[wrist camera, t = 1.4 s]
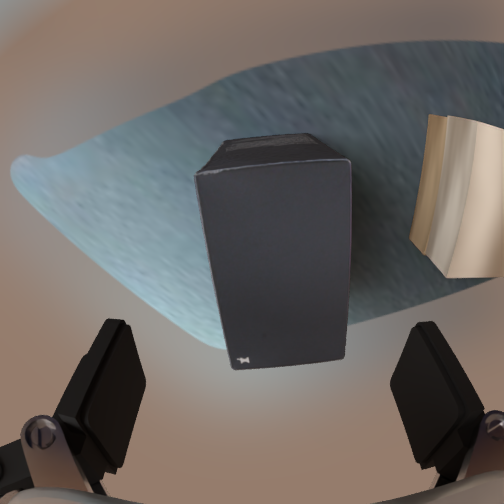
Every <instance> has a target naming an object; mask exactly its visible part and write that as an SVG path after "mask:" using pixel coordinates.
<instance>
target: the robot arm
mask: <svg viewBox="0 0 504 504" xmlns="http://www.w3.org/2000/svg"><path fill="white" fill-rule="evenodd" d="M145 387H146V379H145V375H144V372H143V369H142V365H141V362H140V359H139V355H138V352H137V348H136V345H135V341H134V338H133V334H132V330H131V327H130V326H129V325H126V323H125V321H124V320H120V319H106V321H105V322H104V324H103V326H102V328H101V329H100V331H99V333H98V335H97V337H96V338H95V340H94V342H93V344H92V346H91V348H90V350H89V351H88V353H87V354H86V355H84V356H83V358H82V359H81V361H80V363H79V364H78V366H77V369H76V370H75V372H74V374H73V376H72V378H71V380H70V382H69V384H68V386H67V388H66V390H65V392H64V394H63V396H62V398H61V400H60V402H59V404H58V406H57V408H56V410H55V413H54V415H53V417H50V416H48V415H38V416H35V417H33V418H31V419H29V420H28V421H27V422H26V423H25V424H24V426H23V428H22V430H21V434H20V436H21V439H19V440H16V441H14V442H11V443H9V444H7V445H4V446H2V447H0V504H142V503H137V502H131V501H127V500H122V499H118V498H113V497H111V496H110V495H109V493H108V491H107V489H106V487H105V485H104V483H103V482H102V479H103V476H104V473H105V472H107V473H112V474H116V472H117V468H121V467H122V466H123V463H124V460H125V456H126V452H127V448H128V445H129V441H130V438H131V434H132V431H133V428H134V424H135V420H136V417H137V414H138V411H139V407H140V404H141V400H142V397H143V394H144V391H145ZM390 387H391V390H392V393H393V396H394V399H395V401H396V404H397V407H398V410H399V413H400V416H401V418H402V421H403V424H404V427H405V430H406V433H407V436H408V439H409V442H410V445H411V448H412V452H413V455H414V458H415V460H416V462H417V463H420V466H421V469H422V470H423V469H427V468H431V467H434V466H435V467H436V470H437V473H436V475H435V477H434V479H433V482H432V484H431V486H430V488H429V490H426V491H423V492H419V493H415V494H412V495H408V496H404V497H400V498H396V499H392V500H387V501H382V502H377V503H372V504H504V412H502V411H498V410H492V411H489V412H487V413H486V414H485V413H484V411H483V410H484V406H483V404H482V402H481V400H480V399H479V397H478V395H477V393H476V391H475V389H474V387H473V386H472V384H471V382H470V380H469V378H468V377H467V375H466V373H465V371H464V370H463V368H462V366H461V364H460V363H459V361H458V359H457V358H456V356H455V354H454V353H453V351H452V349H451V348H450V346H449V344H448V343H447V341H446V340H445V338H444V336H443V335H442V333H441V332H440V330H439V329H438V327H437V325H436V324H435V323H434V322H433V321H428V322H418V323H417V324H416V326H415V327H413V328H412V329H411V331H410V334H409V337H408V339H407V342H406V344H405V347H404V349H403V352H402V354H401V357H400V359H399V362H398V364H397V366H396V368H395V371H394V373H393V375H392V377H391V381H390Z"/></svg>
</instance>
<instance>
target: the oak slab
mask: <svg viewBox="0 0 504 504" xmlns="http://www.w3.org/2000/svg"><path fill="white" fill-rule="evenodd" d="M447 119H448V118H447V117H442V116H437V115H431V114H429V119H428V129H427V137H426V146H425V153H424V160H423V167H422V173H421V179H420V185H419V191H418V196H417V202H416V207H415V212H414V217H413V221H412V226H411V231H410V235H409V239H410V240H411V241H412V242H413V243H414V245H415V246H416V247H417V248H418V249H419V250H420V251H421V252H422V254H423V255H426V254H425V251H426V247H427V243H428V239H429V235H430V230H431V226H432V221H433V216H434V211H435V206H436V201H437V195H438V190H439V184H440V178H441V171H442V164H443V157H444V149H445V140H446V130H447Z"/></svg>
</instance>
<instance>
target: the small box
mask: <svg viewBox="0 0 504 504" xmlns="http://www.w3.org/2000/svg"><path fill="white" fill-rule="evenodd" d="M194 181H195V187H196V194H197V199H198V205H199V211H200V217H201V223H202V229H203V233H204V238H205V245H206V250H207V255H208V260H209V265H210V271H211V277H212V282H213V286H214V291H215V296H216V300H217V306H218V309H219V314H220V320H221V325H222V329H223V334H224V339H225V343H226V347H227V352H228V356H229V360H230V365H231V368H232V369H233V370H245V369H260V368H273V367H284V366H294V365H295V366H296V365H302V364H313V363H321V362H328V361H335V360H342V359H343V358H344V356H345V345H346V332H347V321H348V306H349V288H350V267H351V233H352V168H351V161H350V160H349V159H347V158H345V157H344V156H342V155H340V154H339V153H337V152H336V151H334V150H333V149H331V148H330V147H328V146H327V145H325V144H324V143H322V142H321V141H319V140H318V139H316V138H315V137H313V136H312V135H310V134H309V133H303V134H285V135H272V136H261V137H251V138H242V139H233V140H226V141H224V142H223V143H222V144H221V146H220V147H219V148H218V150H217V151H216V152H215V153H214V155H213V156H212V157H211V158H210V160H209V161H208V162H207V164H206V165H205V166H203V167H202V168H201V170H199V171H197V172H196V173H195V175H194Z"/></svg>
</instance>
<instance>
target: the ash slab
mask: <svg viewBox="0 0 504 504" xmlns="http://www.w3.org/2000/svg"><path fill="white" fill-rule="evenodd" d="M425 254H426V255H427V256H428V257H429V258H430V260H431V261H432V262H433V263H434V264H435V265H436V267H437V268H438V269H439V270H440V271H441V272H442V274H443V275H444V276H445V277H446V278H483V277H504V129H501V128H498V127H495V126H491V125H488V124H485V123H482V122H478V121H474V120H469V119H464V118H459V117H454V116H448V119H447V130H446V140H445V149H444V157H443V164H442V171H441V178H440V184H439V190H438V195H437V201H436V206H435V211H434V216H433V221H432V226H431V230H430V235H429V239H428V243H427V247H426V251H425Z"/></svg>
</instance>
